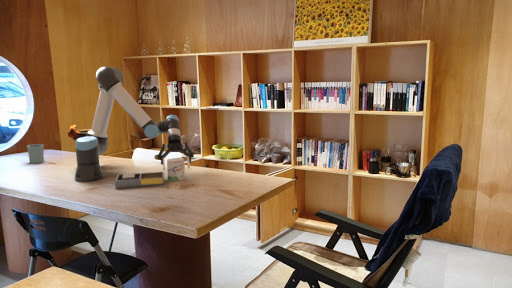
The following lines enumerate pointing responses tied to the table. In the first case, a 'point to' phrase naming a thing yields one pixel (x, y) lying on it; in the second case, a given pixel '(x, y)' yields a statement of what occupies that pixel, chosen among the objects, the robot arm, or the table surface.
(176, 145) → the robot arm
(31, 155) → the grey green cup
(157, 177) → the grey compartment tray
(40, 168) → the table surface
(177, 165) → the ink box
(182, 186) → the table surface
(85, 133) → the decorative vase
